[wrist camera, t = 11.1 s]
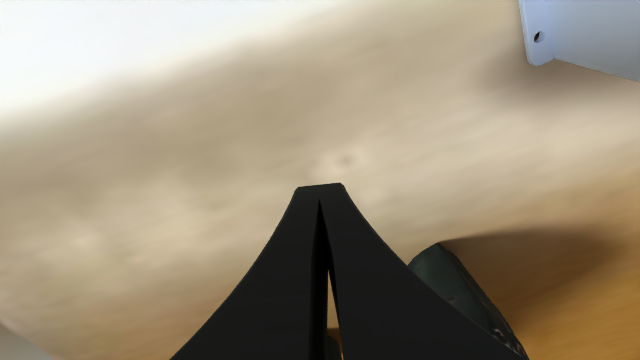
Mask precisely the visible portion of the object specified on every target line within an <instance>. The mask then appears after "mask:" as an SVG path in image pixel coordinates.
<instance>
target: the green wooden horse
mask: <svg viewBox="0 0 640 360" xmlns="http://www.w3.org/2000/svg"><path fill="white" fill-rule="evenodd" d="M408 267H409V268H410V269H411V270H412V271H414V272H415V273H416V274H417V275H418V276H419V277H420V278H421V279H422V280H423V281H424V282H426V283H427V284H428V285H429V286H430V287H431V288H433V289H434V290H435V291H436V292H437V293H438V294H439V295H441V296H442V297H443V298H444V299H445V300H447V301H448V302H449V303H451V304H452V305H453V306H454V307H456V308H457V309H458V310H460V311H461V312H462V313H464V314H465V315H466V316H467V317H469V318H470V319H471V320H473V321H474V322H475V323H476V324H478V325H479V326H480V327H482V328H483V329H484V330H485V331H487V332H488V333H489V334H491V335H492V336H494V337H495V338H496V339H498V340H499V341H501V342H502V343H503V344H505V345H506V346H508V347H509V348H510V349H512V350H513V351H515V352H516V353H518V354H519V355H520V356H522V357H523V358H525V359H526V360H529V358H528V356H527V354H526V352H525V350H524V348H523V346H522V345H521V343H520V342H519V341H518V339H517V338H516V337H515V335H514V333H513V331H512V329H511V327H510V326H509V324H508V322H507V321H506V320H505V318H504V317H503V316H502V314H501V313H500V311H499V310H498V309H497V308H496V306H495V305H494V304H493V303H492V302H491V301H490V299H489V298H488V297H487V295H486V294H485V293H484V291H483V290H482V289H481V288H480V286H479V285H478V284H477V283H476V281H475V280H474V279H473V278H472V276H471V275H470V274H469V272H468V271H467V270H466V269H465V267H464V266H463V264H462V263H461V262H460V260H459V259H458V258H457V257H456V256H455V255H454V254H452V253H451V252H449V251H447V250H446V249H445V248H444V247H443V246H442V245H440V244H439V243H436V244H434V245H432V246H430V247H429V248H427V249H425V250H424V251H422V252H421V253H420V254H418V255H417V256H416V257H414V258H413V259H412V261H411V262H410V263H409V265H408ZM327 360H342V357H341V352H340V348H339V345H338V343H337V341H335V340H334V339H332V338H331V337H329V336H327Z"/></svg>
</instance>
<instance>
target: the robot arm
mask: <svg viewBox="0 0 640 360" xmlns="http://www.w3.org/2000/svg"><path fill="white" fill-rule="evenodd" d="M518 2H519V8H520V15H521V21H522V28H523V35H524V41H525V48H526V54H527V60H528V63H530V64H531V65H534V66H541V65H543V64H545V63H547V62H550V61H552V60H554V59H557V60H560V61H564V62H568V63H571V64H575V65H579V66H582V67H586V68H589V69H593V70H597V71H600V72H604V73H607V74H611V75H615V76H618V77H622V78H625V79H629V80H633V81H636V82H640V0H518ZM538 32H539V33H540V35H539V38H538V39H537V40H536V41H534V36H535V35H536V34H537V33H538ZM328 270H329V276H330V281H331V286H332V292H333V297H334V303H335V308H336V313H337V319H338V324H339V329H340V335H341V340H342V349H343V360H526V359H525V358H523V357H522V356H520V355H519V354H518V353H516V352H515V351H513V350H512V349H510V348H509V347H508V346H506V345H505V344H503V343H502V342H501V341H499V340H498V339H496V338H495V337H494V336H492V335H491V334H489V333H488V332H487V331H485V330H484V329H483V328H482V327H480V326H479V325H478V324H476V323H475V322H474V321H473V320H471V319H470V318H469V317H467V316H466V315H465V314H464V313H462V312H461V311H460V310H458V309H457V308H456V307H454V306H453V305H452V304H451V303H449V302H448V301H447V300H445V299H444V298H443V297H442V296H441V295H439V294H438V293H437V292H436V291H435V290H434V289H433V288H431V287H430V286H429V285H428V284H427V283H426V282H424V281H423V280H422V279H421V278H420V277H419V276H418V275H417V274H416V273H415V272H414V271H412V270H411V269H410V268H409V267H408V266H407V265H406V264H405V263H404V262H403V261H402V260H401V259H400V258H399V257H398V256H397V255H396V254H395V253H394V252H393V251H392V250H391V249H390V247H389V246H388V245H387V244H386V243H385V242H384V241H383V240H382V239H381V238H380V236H379V235H378V234H377V233H376V232H375V230H374V229H373V228H372V227H371V225H370V224H369V223H368V222H367V220H366V219H365V218H364V217H363V215H362V214H361V213H360V211H359V210H358V209H357V207H356V206H355V204H354V203H353V201H352V200H351V198H350V196H349V195H348V193H347V191H346V189H345V187H344V185H342V184H341V183H332V184H322V185H313V186H303V187H298V188H297V189H296V190H295V192H294V194H293V197H292V199H291V201H290V203H289V205H288V207H287V209H286V211H285V213H284V215H283V217H282V219H281V221H280V222H279V224H278V226H277V228H276V229H275V231H274V233H273V235H272V236H271V238H270V240H269V241H268V243H267V244H266V246H265V247H264V249H263V250H262V252H261V253H260V255H259V256H258V258H257V259H256V261H255V262H254V264H253V265H252V266H251V268H250V269H249V271H248V272H247V273H246V275H245V276H244V277H243V279H242V280H241V281H240V282H239V284H238V285H237V286H236V288H235V289H234V290H233V291H232V293H231V294H230V295H229V296H228V297H227V299H226V300H225V301H224V302H223V303H222V304H221V305H220V307H219V308H218V309H217V310H216V311H215V312H214V314H213V315H212V316H211V317H210V318H209V319H208V320H207V322H206V323H205V324H204V325H203V326H202V327H201V328H200V329H199V330H198V331H197V332H196V333H195V334H194V336H193V337H192V338H191V339H190V340H189V341H188V342H187V343H186V344H185V345H184V346H183V347H182V348H181V349H180V350H179V351H178V352H177V353H176V354H175V355H174V356H173V357H172V358H171V359H170V360H327V307H328Z"/></svg>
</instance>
